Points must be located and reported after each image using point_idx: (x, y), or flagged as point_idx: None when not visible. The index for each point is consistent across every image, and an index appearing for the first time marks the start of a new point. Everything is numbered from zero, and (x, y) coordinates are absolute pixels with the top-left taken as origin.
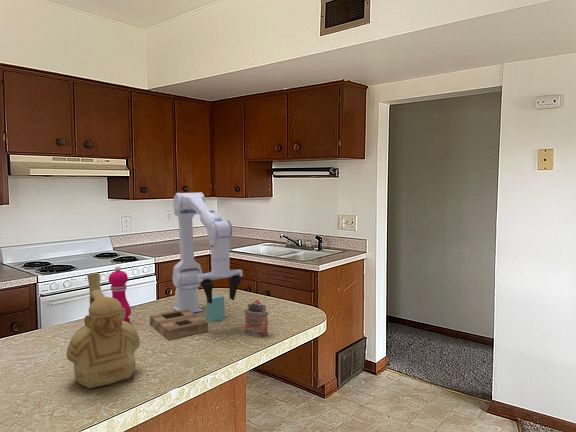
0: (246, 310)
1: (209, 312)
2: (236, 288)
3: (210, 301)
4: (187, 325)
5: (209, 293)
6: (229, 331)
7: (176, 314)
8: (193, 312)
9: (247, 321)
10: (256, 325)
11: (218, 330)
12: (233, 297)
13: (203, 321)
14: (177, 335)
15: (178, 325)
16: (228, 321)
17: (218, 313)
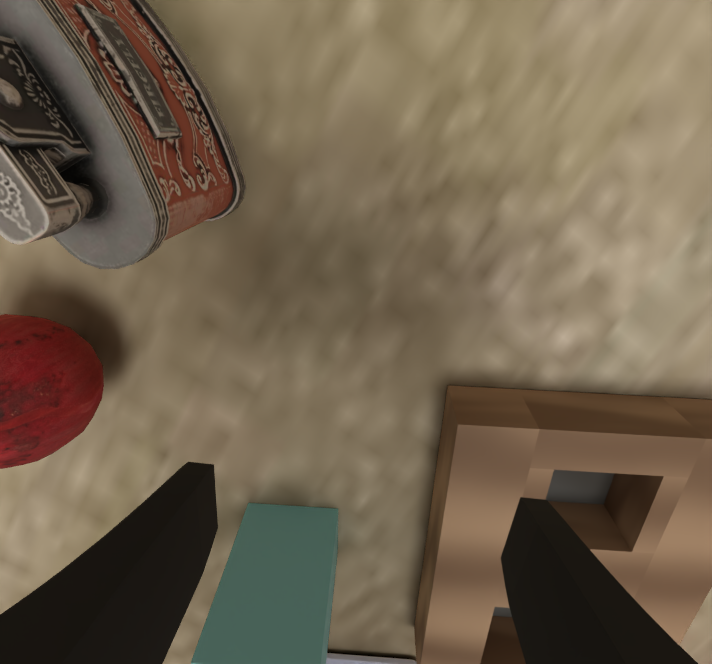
0: (135, 211)
1: (332, 575)
2: (39, 598)
3: (559, 516)
4: (614, 453)
5: (662, 645)
6: (325, 302)
7: (498, 652)
8: (352, 655)
9: (191, 169)
10: (138, 49)
11: (379, 363)
12: (186, 481)
13: (470, 458)
14: (682, 407)
15: (660, 486)
16: (244, 461)
17: (279, 544)
